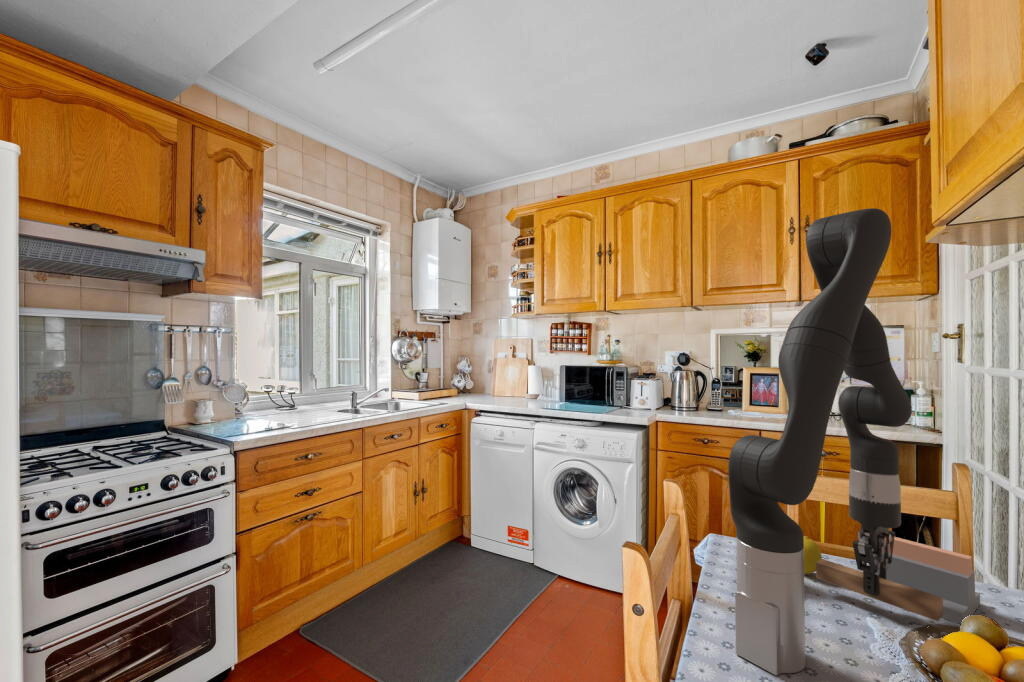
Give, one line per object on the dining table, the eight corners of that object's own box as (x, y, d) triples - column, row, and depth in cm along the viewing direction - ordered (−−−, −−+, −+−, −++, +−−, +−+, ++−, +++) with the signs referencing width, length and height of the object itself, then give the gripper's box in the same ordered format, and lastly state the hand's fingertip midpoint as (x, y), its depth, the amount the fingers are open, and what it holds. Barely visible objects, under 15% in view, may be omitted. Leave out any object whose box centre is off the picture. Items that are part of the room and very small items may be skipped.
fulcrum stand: (963, 625, 80) (961, 566, 80) (878, 595, 90) (877, 543, 90) (980, 604, 87) (978, 550, 87) (899, 579, 97) (898, 530, 97)
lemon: (828, 580, 96) (827, 541, 96) (801, 580, 96) (800, 541, 96) (811, 568, 101) (810, 531, 102) (785, 568, 101) (785, 531, 102)
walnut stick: (943, 615, 78) (942, 597, 78) (938, 621, 76) (937, 602, 76) (822, 574, 93) (822, 558, 93) (816, 577, 91) (816, 562, 91)
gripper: (886, 507, 78) (887, 612, 77) (912, 495, 86) (913, 589, 85) (835, 496, 84) (835, 593, 83) (864, 485, 92) (864, 574, 91)
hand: (875, 590), depth 84 cm, fingers closed on walnut stick, 3 cm apart
